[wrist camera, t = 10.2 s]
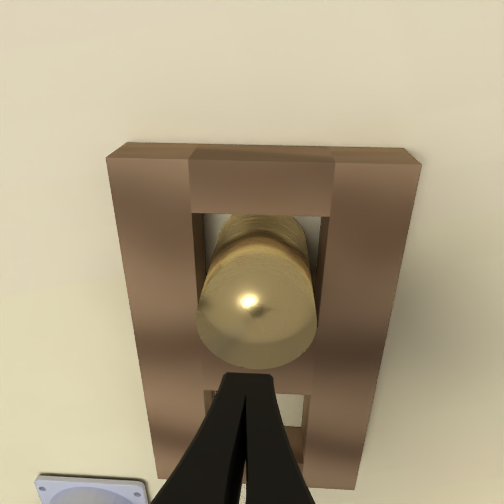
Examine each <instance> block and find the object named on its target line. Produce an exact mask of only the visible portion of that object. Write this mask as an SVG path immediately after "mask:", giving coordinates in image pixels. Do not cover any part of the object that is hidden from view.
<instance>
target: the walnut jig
mask: <svg viewBox="0 0 504 504" xmlns="http://www.w3.org/2000/svg"><path fill="white" fill-rule="evenodd" d="M106 163H107V169H108V175H109V181H110V187H111V194H112V200H113V206H114V212H115V218H116V224H117V230H118V237H119V243H120V249H121V255H122V261H123V267H124V273H125V279H126V286H127V292H128V298H129V304H130V310H131V316H132V322H133V329H134V335H135V341H136V347H137V353H138V359H139V365H140V371H141V378H142V384H143V390H144V396H145V402H146V408H147V414H148V421H149V427H150V433H151V439H152V445H153V451H154V457H155V463H156V470H157V476H158V479H168V478H169V477H170V475H171V474H172V472H173V471H174V469H175V468H176V466H177V464H178V463H179V461H180V460H181V458H182V456H183V455H184V453H185V451H186V450H187V448H188V447H189V445H190V443H191V442H192V440H193V438H194V437H195V435H196V433H197V431H198V429H199V427H200V426H201V424H202V422H203V420H204V418H205V416H206V414H207V412H208V410H209V408H210V406H211V404H212V402H213V399H212V390H215V391H218V388H219V386H220V383H221V380H222V377H223V375H224V374H225V373H226V372H236V373H258V374H270V375H271V376H272V377H273V381H274V389H275V393H278V394H300V395H304V405H303V416H302V426H301V427H284V428H285V431H286V434H287V437H288V440H289V443H290V446H291V448H292V451H293V453H294V456H295V459H296V461H297V463H298V466H299V468H300V471H301V473H302V476H303V478H304V480H305V482H306V485H307V487H310V488H327V489H344V490H354V489H355V485H356V480H357V475H358V470H359V465H360V460H361V456H362V451H363V446H364V441H365V436H366V432H367V427H368V422H369V417H370V412H371V407H372V403H373V398H374V393H375V388H376V383H377V379H378V374H379V369H380V364H381V359H382V354H383V350H384V345H385V340H386V335H387V330H388V326H389V321H390V316H391V311H392V306H393V301H394V297H395V292H396V287H397V282H398V277H399V273H400V268H401V263H402V258H403V253H404V248H405V244H406V239H407V234H408V229H409V224H410V220H411V215H412V210H413V205H414V200H415V195H416V191H417V186H418V181H419V176H420V171H421V167H422V164H420V163H419V162H418V161H417V160H416V159H415V158H414V157H413V156H412V155H411V154H409V153H408V152H407V151H406V150H405V149H404V148H370V147H321V146H273V145H224V144H176V143H128V142H127V143H125V144H124V145H122V146H121V147H120V148H118V149H117V150H116V151H114V152H113V153H111V154H110V155H109V156H107V157H106ZM203 213H215V214H250V215H286V216H321V226H320V237H319V247H318V258H317V268H316V279H315V289H314V301H315V308H316V316H317V329H316V333H315V336H314V339H313V341H312V342H311V344H310V346H309V347H308V348H307V349H306V351H305V352H304V353H303V354H301V355H300V356H299V357H298V358H296V359H295V360H293V361H291V362H289V363H287V364H284V365H282V366H278V367H275V368H269V369H248V368H243V367H238V366H235V365H232V364H230V363H228V362H226V361H224V360H222V359H220V358H219V357H217V356H216V355H215V354H213V353H212V352H211V351H210V350H209V349H208V348H207V347H206V345H205V344H204V343H203V341H202V340H201V338H200V336H199V333H198V330H197V326H196V311H197V307H198V304H199V300H200V297H201V293H202V290H203V287H204V283H205V280H206V268H205V249H204V230H203ZM242 484H246V460H245V467H244V473H243V480H242Z"/></svg>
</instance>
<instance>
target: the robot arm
mask: <svg viewBox="0 0 504 504" xmlns="http://www.w3.org/2000/svg"><path fill="white" fill-rule="evenodd" d="M245 460H246V504H315V502H314V500H313V498H312V496H311V493H310V491H309V489H308V487H307V485H306V482H305V480H304V478H303V476H302V473H301V471H300V468H299V466H298V463H297V461H296V459H295V456H294V453H293V451H292V448H291V446H290V443H289V440H288V437H287V434H286V431H285V428H284V425H283V422H282V418H281V415H280V411H279V408H278V404H277V399H276V395H275V389H274V381H273V377H272V376H271V375H270V374H258V373H236V372H226V373H225V374H224V375H223V377H222V380H221V383H220V386H219V388H218V391H217V393H216V395H215V398H214V400H213V402H212V404H211V406H210V408H209V410H208V412H207V414H206V416H205V418H204V420H203V422H202V424H201V426H200V427H199V429H198V431H197V433H196V435H195V437H194V438H193V440H192V442H191V443H190V445H189V447H188V448H187V450H186V451H185V453H184V455H183V456H182V458H181V460H180V461H179V463H178V464H177V466H176V468H175V469H174V471H173V472H172V474H171V475H170V477H169V478H168V479H167V481H166V482H165V484H164V485H163V487H162V488H161V489H160V491H159V492H158V494H157V495H156V496H155V498H154V499H153V500H152V502H151V503H150V504H239V499H240V493H241V486H242V480H243V473H244V467H245ZM34 484H35V487H36V489H37V492H38V494H39V497H40V499H41V502H42V504H148V500H147V494H146V489H145V485H144V484H143V483H142V482H140V481H128V480H111V479H93V478H76V477H59V476H38V477H37V478H36V480H35V481H34Z"/></svg>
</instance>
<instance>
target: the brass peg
mask: <svg viewBox="0 0 504 504" xmlns="http://www.w3.org/2000/svg"><path fill="white" fill-rule="evenodd" d="M196 326H197V330H198V333H199V336H200V338H201V340H202V341H203V343H204V344H205V345H206V347H207V348H208V349H209V350H210V351H211V352H212V353H213V354H215V355H216V356H217V357H219V358H220V359H222V360H224V361H226V362H228V363H230V364H232V365H235V366H238V367H243V368H248V369H269V368H275V367H278V366H282V365H284V364H287V363H289V362H291V361H293V360H295V359H296V358H298V357H299V356H300V355H301V354H303V353H304V352H305V351H306V349H307V348H308V347H309V346H310V344H311V342H312V341H313V339H314V336H315V333H316V329H317V316H316V308H315V301H314V294H313V287H312V279H311V272H310V265H309V258H308V250H307V243H306V238H305V234H304V232H303V230H302V228H301V226H300V225H299V224H298V222H297V221H296V220H295V219H294V218H293V217H292V216H286V215H250V214H234V215H232V216H231V217H230V218H229V219H228V220H227V221H226V222H225V223H224V225H223V226H222V228H221V230H220V233H219V235H218V239H217V242H216V246H215V249H214V252H213V256H212V259H211V263H210V266H209V269H208V273H207V276H206V280H205V283H204V287H203V290H202V293H201V297H200V300H199V304H198V307H197V311H196Z"/></svg>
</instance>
